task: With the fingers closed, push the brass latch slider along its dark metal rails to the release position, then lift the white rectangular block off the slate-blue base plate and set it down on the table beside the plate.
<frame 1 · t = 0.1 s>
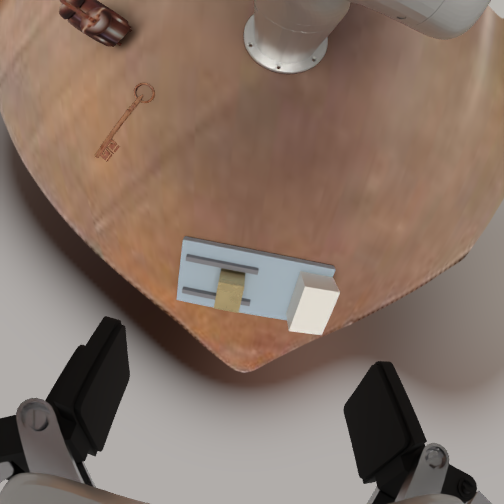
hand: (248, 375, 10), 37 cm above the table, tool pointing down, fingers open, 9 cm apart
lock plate: (253, 281, 50), on the table
latch slider: (229, 289, 46), point 4 cm above the table, slide at 0.0 cm
alarm clock: (116, 30, 32), on the table
white rectangular block: (309, 295, 50), point 1 cm above the table, touching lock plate
key: (126, 124, 39), on the table
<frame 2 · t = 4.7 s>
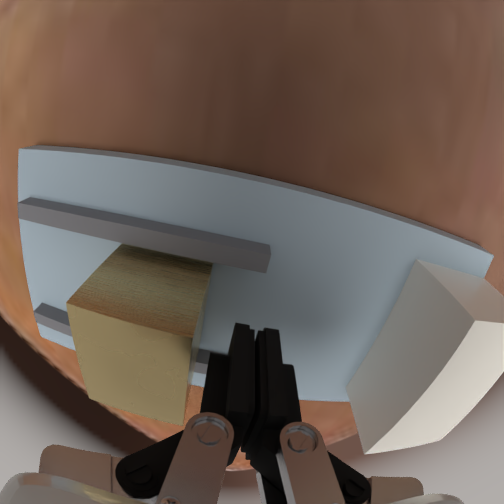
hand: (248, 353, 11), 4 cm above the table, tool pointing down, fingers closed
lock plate: (250, 297, 14), on the table
latch slider: (147, 332, 10), point 4 cm above the table, slide at 0.1 cm, touching gripper
white rectangular block: (418, 337, 14), point 1 cm above the table, touching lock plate
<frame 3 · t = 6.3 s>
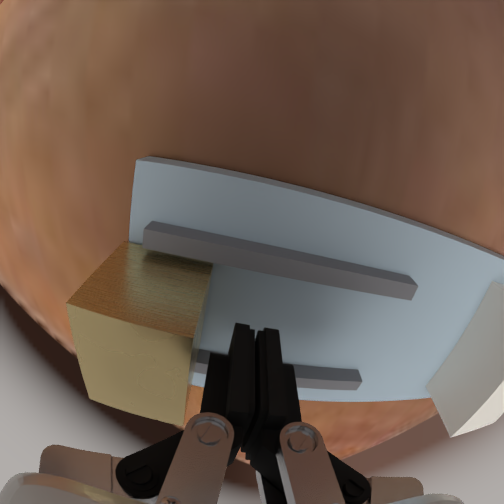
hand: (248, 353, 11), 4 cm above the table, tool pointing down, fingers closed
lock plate: (371, 317, 15), on the table
latch slider: (148, 332, 10), point 4 cm above the table, slide at 7.1 cm, touching gripper
white rectangular block: (481, 340, 15), point 1 cm above the table, touching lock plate
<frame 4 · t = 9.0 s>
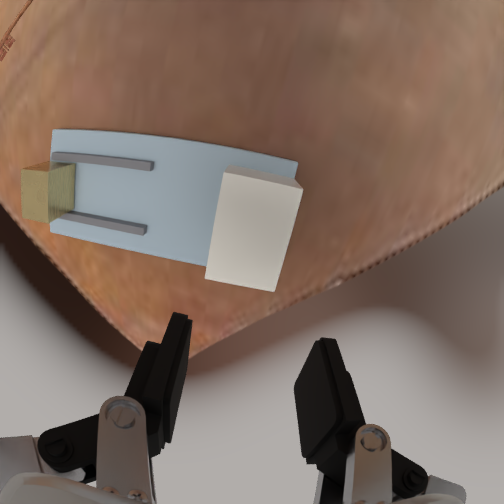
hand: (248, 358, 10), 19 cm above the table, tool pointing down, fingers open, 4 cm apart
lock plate: (154, 194, 27), on the table
latch slider: (47, 189, 23), point 4 cm above the table, slide at 7.0 cm
white rectangular block: (251, 217, 27), point 1 cm above the table, touching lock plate
key: (25, 16, 16), on the table
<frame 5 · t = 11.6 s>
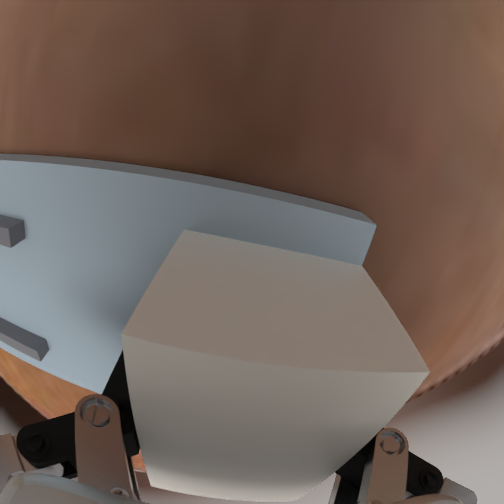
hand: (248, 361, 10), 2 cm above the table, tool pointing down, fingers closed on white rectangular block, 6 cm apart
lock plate: (50, 278, 11), on the table
white rectangular block: (248, 350, 11), point 1 cm above the table, touching gripper, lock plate
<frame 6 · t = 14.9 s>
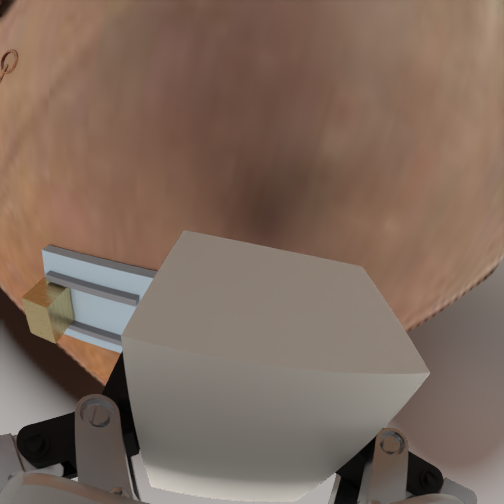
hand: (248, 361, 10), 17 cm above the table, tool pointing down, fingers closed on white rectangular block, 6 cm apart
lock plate: (143, 314, 30), on the table
latch slider: (48, 309, 26), point 4 cm above the table, slide at 7.0 cm
alarm clock: (1, 3, 13), on the table
white rectangular block: (248, 351, 11), point 17 cm above the table, touching gripper
when the fingers open (3 cm above the table, at t = 18.3 s): white rectangular block drops 2 cm, on the table.
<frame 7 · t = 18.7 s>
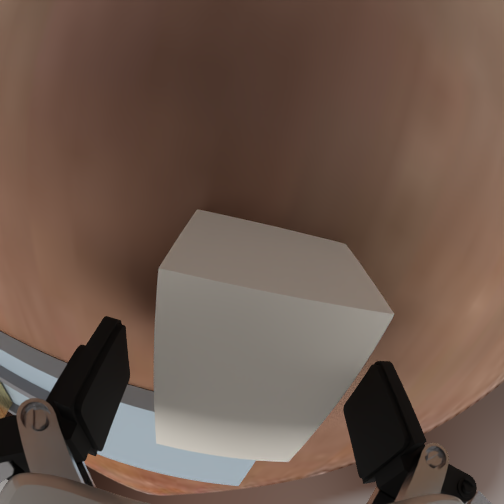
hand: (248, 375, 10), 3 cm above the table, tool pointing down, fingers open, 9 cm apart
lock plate: (91, 413, 17), on the table
white rectangular block: (247, 316, 13), on the table
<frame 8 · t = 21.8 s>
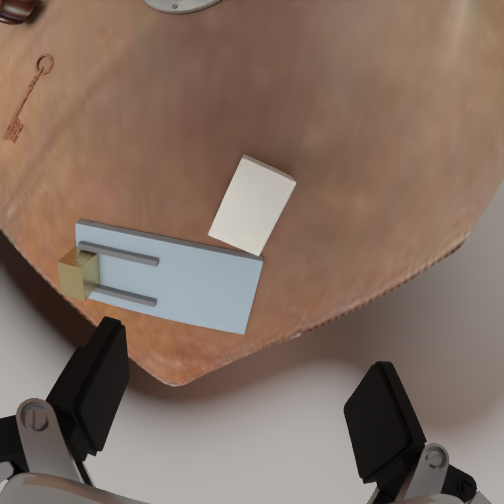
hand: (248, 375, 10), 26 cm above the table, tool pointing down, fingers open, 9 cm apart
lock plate: (160, 276, 38), on the table
latch slider: (79, 273, 33), point 4 cm above the table, slide at 7.0 cm
alarm clock: (31, 10, 20), on the table
white rectangular block: (251, 198, 34), on the table
key: (29, 100, 27), on the table
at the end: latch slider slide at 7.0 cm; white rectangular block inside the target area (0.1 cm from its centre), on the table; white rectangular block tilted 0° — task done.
